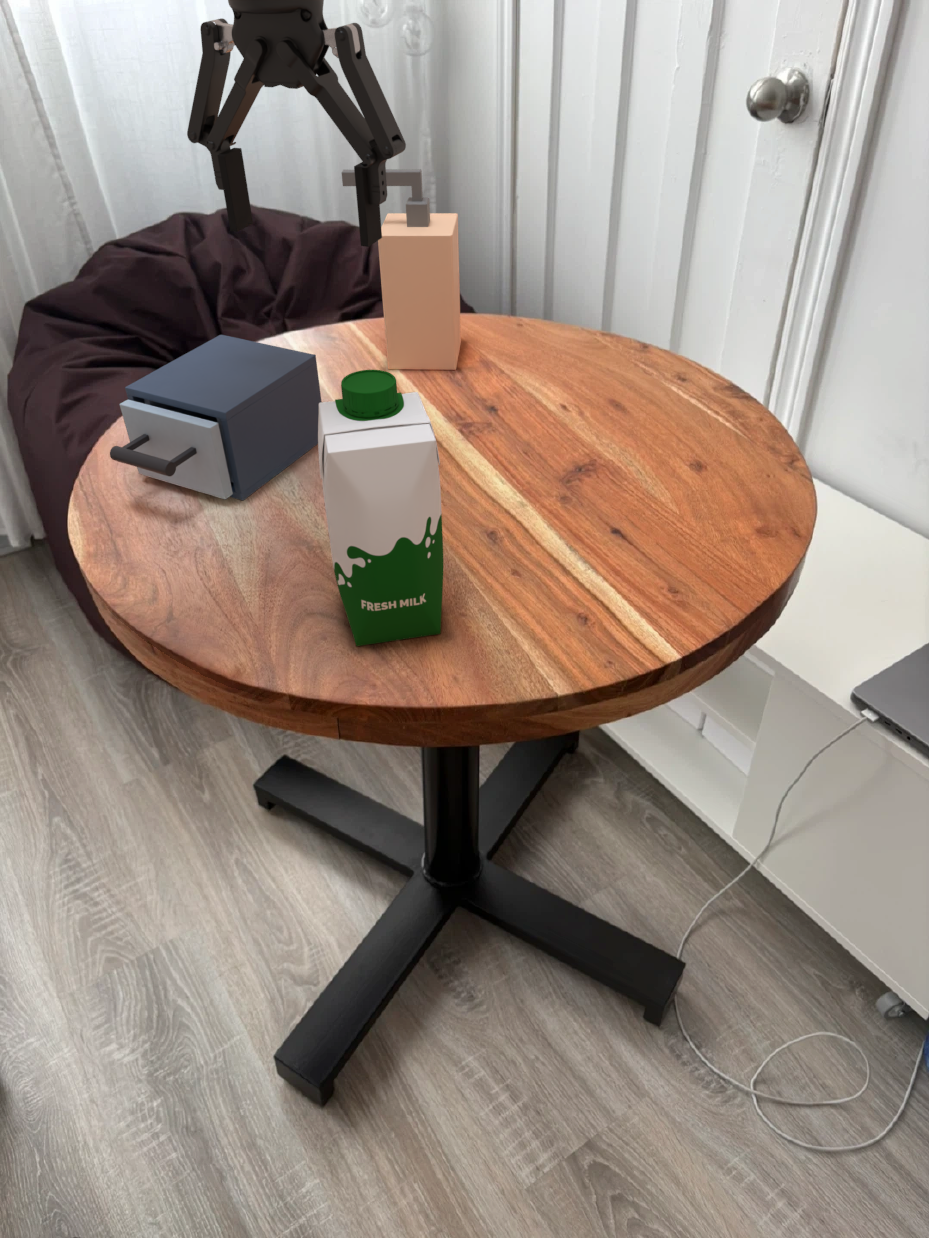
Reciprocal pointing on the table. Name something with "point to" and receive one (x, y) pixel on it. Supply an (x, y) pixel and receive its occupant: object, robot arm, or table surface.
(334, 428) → the milk carton
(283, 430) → the blue drawer cabinet
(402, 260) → the soap dispenser
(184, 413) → the drawer
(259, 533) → the table surface
